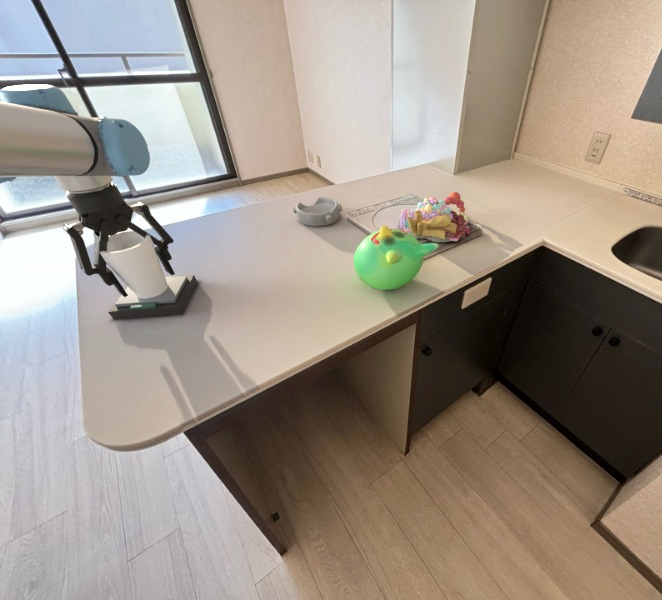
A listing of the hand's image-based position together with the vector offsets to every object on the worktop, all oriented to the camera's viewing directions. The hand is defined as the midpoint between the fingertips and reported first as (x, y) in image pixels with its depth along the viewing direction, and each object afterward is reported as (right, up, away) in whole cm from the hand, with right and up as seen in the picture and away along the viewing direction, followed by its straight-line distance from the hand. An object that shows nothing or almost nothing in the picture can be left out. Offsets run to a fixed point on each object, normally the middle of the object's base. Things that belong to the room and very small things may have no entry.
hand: (148, 282), depth 74 cm
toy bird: (+55, +1, +12) cm, 56 cm away
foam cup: (0, -2, +1) cm, 2 cm away
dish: (+30, +24, +37) cm, 54 cm away
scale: (0, -4, +3) cm, 5 cm away
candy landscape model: (+69, +21, +36) cm, 81 cm away
